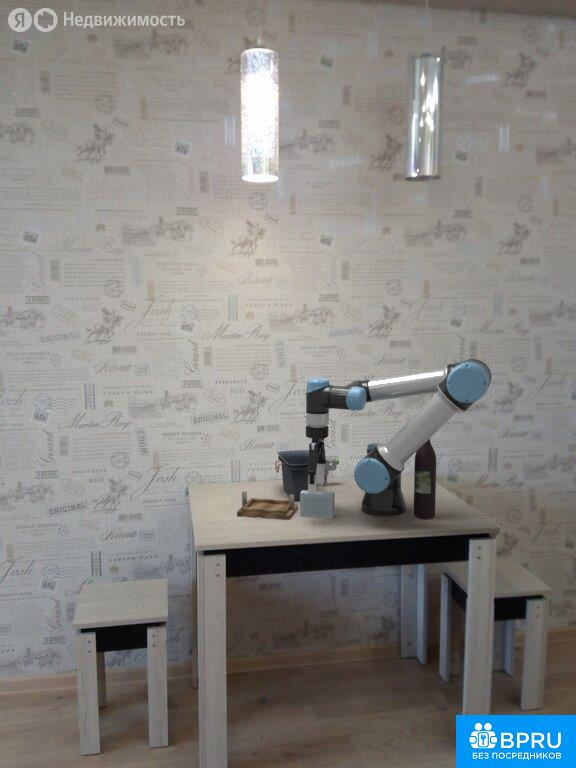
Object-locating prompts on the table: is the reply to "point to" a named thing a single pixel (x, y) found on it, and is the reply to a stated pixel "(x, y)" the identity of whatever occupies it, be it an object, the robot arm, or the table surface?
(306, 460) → the storage bin
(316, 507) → the pale blue rounded block
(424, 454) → the wine bottle
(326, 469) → the mechanical component
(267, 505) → the brown wooden shallow tray
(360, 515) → the table surface
